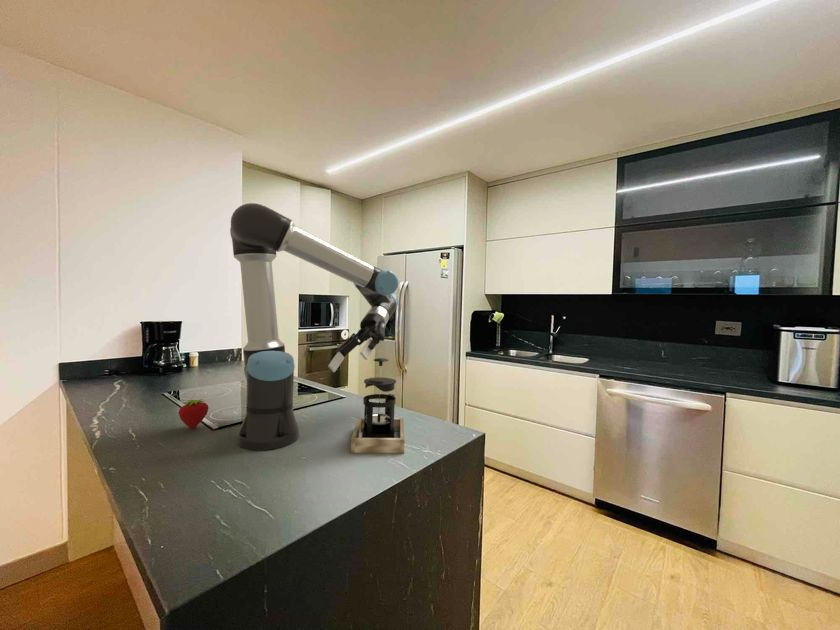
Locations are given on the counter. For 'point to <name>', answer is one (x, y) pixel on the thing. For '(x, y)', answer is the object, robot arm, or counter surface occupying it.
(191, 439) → the counter surface
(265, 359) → the robot arm
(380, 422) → the french press
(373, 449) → the wooden frame
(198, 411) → the strawberry
